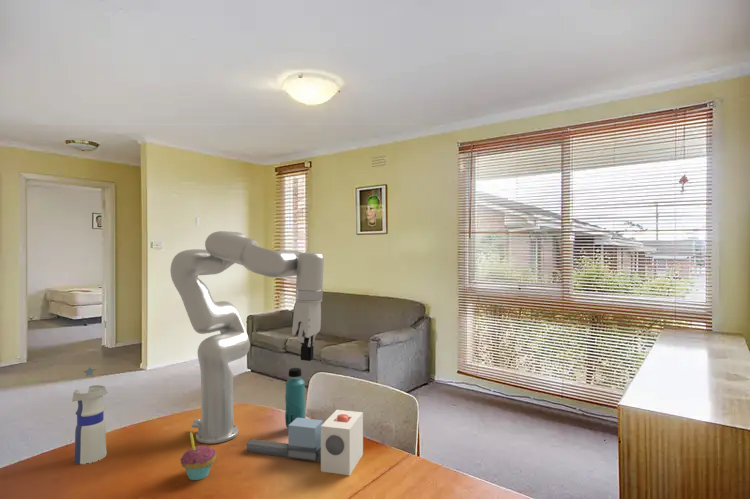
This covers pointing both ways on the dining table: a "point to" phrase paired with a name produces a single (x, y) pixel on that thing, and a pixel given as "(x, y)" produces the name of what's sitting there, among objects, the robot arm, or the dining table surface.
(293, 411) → the beverage bottle
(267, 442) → the rail
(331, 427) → the cabinet
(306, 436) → the carriage
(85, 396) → the cream tall piece
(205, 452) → the cupcake
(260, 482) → the dining table surface
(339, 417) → the button
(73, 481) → the dining table surface
